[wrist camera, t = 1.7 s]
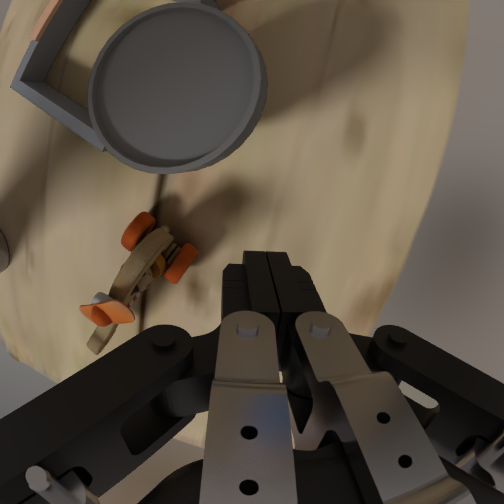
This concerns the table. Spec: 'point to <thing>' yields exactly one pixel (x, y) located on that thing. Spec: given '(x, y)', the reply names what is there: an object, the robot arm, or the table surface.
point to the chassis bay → (41, 58)
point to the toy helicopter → (136, 276)
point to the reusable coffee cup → (177, 89)
